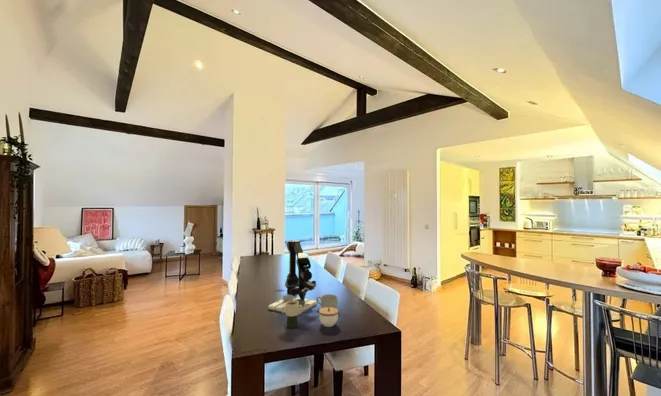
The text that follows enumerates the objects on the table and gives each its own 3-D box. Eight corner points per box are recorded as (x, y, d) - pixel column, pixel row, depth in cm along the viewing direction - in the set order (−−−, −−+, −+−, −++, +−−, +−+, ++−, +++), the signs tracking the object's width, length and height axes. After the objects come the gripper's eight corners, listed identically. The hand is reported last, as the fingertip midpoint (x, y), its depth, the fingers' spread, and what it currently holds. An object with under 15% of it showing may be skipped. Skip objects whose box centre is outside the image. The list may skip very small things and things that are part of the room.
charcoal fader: (298, 305, 188) (298, 298, 188) (304, 307, 186) (304, 299, 186) (294, 307, 185) (294, 300, 185) (301, 309, 182) (301, 301, 182)
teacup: (340, 308, 187) (340, 295, 187) (332, 314, 177) (332, 300, 178) (321, 304, 194) (321, 292, 194) (313, 310, 184) (313, 297, 184)
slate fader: (286, 301, 197) (286, 294, 197) (292, 302, 195) (292, 295, 195) (283, 302, 194) (283, 295, 194) (289, 304, 191) (289, 296, 191)
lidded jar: (314, 325, 162) (314, 307, 162) (327, 319, 170) (327, 302, 170) (329, 330, 155) (329, 312, 155) (342, 324, 163) (342, 307, 163)
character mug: (300, 323, 164) (300, 299, 164) (303, 328, 157) (303, 303, 157) (281, 325, 161) (281, 301, 161) (282, 330, 154) (282, 305, 154)
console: (289, 299, 204) (289, 295, 204) (316, 304, 194) (316, 300, 194) (268, 309, 185) (268, 305, 185) (297, 315, 174) (297, 311, 174)
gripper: (305, 281, 176) (305, 308, 176) (320, 275, 193) (320, 299, 192) (290, 279, 181) (290, 305, 181) (306, 273, 198) (306, 296, 198)
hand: (302, 301), depth 188 cm, fingers closed
